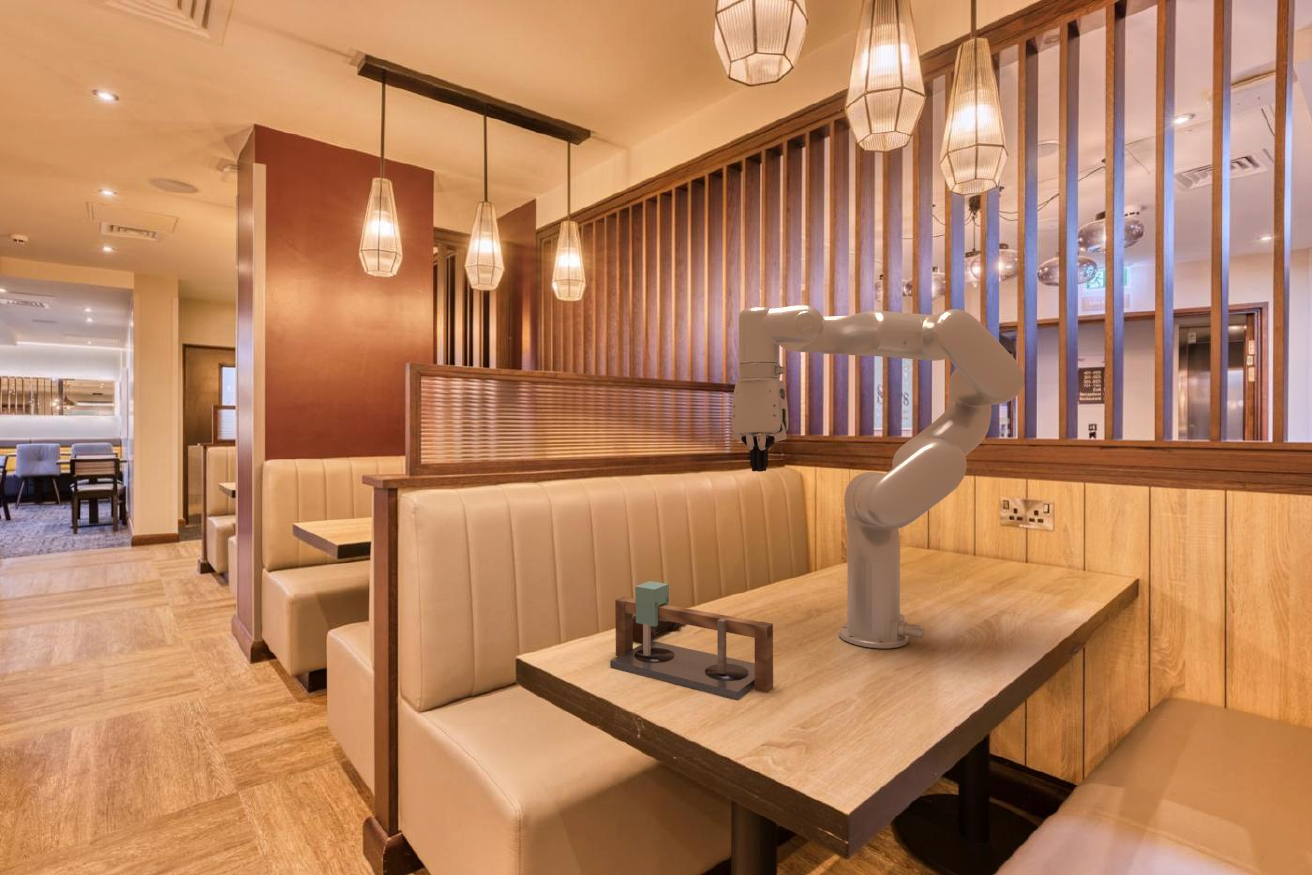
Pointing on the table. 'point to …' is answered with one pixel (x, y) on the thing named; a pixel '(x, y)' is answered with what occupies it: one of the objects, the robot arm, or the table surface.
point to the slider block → (649, 608)
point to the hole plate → (689, 669)
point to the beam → (710, 621)
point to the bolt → (652, 629)
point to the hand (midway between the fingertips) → (759, 470)
